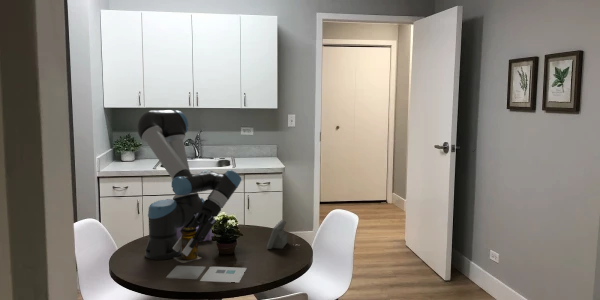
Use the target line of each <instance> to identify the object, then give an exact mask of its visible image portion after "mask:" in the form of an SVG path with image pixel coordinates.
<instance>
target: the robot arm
mask: <svg viewBox="0 0 600 300" xmlns="http://www.w3.org/2000/svg"><path fill="white" fill-rule="evenodd" d="M136 127H137V128H136V130H137V134H138V136H139V138H140V139H141V141H142V142H143V143H145V144H147V145H148V146H149V148H150V149H151V151H152V152H153V154H154V155H155V157H156V158H157V159H158V160H159V162H160V163H161V165H162V167H163V168H164V169H165V171H166V172H167V173H168V175H169V176H170V178H171V188H172V192H173V193H174V195H173V198H172V199H171V198H167V199H160V200H156V201H154V202H153V203H150V205H149V206H148V214H147V218H148V241H147V244H146V247H145V251H144V252H145V253H144V255H145V258H147V259H149V260H155V261H161V260H170V259H174V258H175V257H180V255H182V253H183V254H184V255H185V256H188V254H189V253H190V252H191V250H192V249H193V248H194V247H195V245H196V244H197V245H198V243H199V241H201V242H204V241H203V240H204V239H205V237H206V236H207V234H208V233H209V231H210V230H211V228H212V226H213V227H214V226H215V224H216V223H217V220H216V219H215V218H216V217H218V215H219V214H220V212H221V211H222V209H223V208H224V207H225V205H226V204H227V202H228V201H229V200H230V199H231V197H232V195H233V194H234V192H235V191H237V189H238V187H240V186H239V185H240V184H241V182H242V177H241V175H240V174H238V173H237V172H236V171H235V170H231V169H227V170H226V171H225V173H224V174H222V173H219V172H215V171H213V170H207V169H206V170H203V171H201V172H200V173H195V174H193V173H192V172H191V171H190V167H189V165H190V164H189V160H188V158H187V157H188V156H187V152H186V147H185V142H184V139H185V138H186V133H188V130H189V122H188V118H187V116H186V114H184V112H182V111H181V110H176V109H175V110H174V109H166V110H164V109H163V110H148V111H145V112H144V113H143V114H141V116H140V117H139V119H138V121H137V125H136ZM205 191H207V192H208V191H211V192H210V193H209V195H208V196H207V197H206V198H207V199H205V200H204V198H203V197H200V196H199V193H201V192H205ZM198 226H199V227H198ZM179 227H183V228H185V227H195V228H197V227H198V230H197V232H196V234H195V236H193V238H194V239H193V238H191V240H190V241H189V242H188V244H187V245H186V247H185V248H184V249H183V251H182V239H181V237H182V235H183V234H182V235H181V236H180V238H179V239H178V238H177V228H179ZM183 228H182V229H181V231H180V232H181V233H182V232H183V231H182V230H183ZM201 242H200V243H201Z"/></svg>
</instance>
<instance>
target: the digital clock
mask: <svg viewBox="0 0 600 300" xmlns="http://www.w3.org/2000/svg"><path fill="white" fill-rule="evenodd" d="M286 223H287V221H286V220H285V219H280V221H279V222H278V223H277V224H276V225H275V226H274V227H273V229H272V231H271V232H270V233H271V234H270V236H269V238H268V241H267V244H266V248H267V250H272V249H284V247H285V246H286V245H287V244H288V233H286V232H285V231H286V230H284V228H285V227H286Z"/></svg>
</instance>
